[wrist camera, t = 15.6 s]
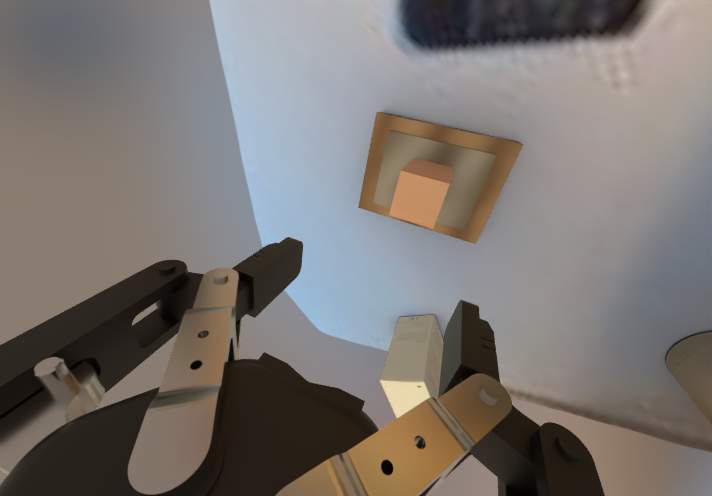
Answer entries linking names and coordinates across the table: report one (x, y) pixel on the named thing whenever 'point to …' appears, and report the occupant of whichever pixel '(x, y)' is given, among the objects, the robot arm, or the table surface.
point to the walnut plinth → (445, 147)
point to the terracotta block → (421, 192)
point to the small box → (413, 363)
